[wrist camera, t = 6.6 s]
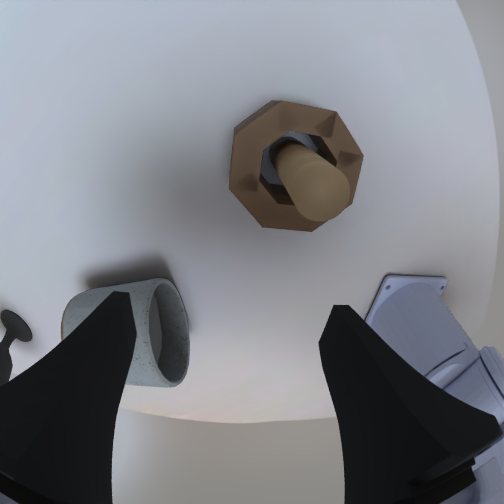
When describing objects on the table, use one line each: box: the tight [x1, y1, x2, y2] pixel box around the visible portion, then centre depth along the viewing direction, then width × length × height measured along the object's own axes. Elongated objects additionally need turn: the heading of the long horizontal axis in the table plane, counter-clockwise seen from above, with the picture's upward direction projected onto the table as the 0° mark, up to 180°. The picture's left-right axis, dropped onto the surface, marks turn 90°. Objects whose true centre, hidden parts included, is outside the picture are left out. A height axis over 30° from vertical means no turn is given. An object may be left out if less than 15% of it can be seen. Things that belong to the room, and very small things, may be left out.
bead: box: [229, 101, 363, 232], centre depth 15 cm, size 7×7×4 cm
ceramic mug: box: [61, 278, 190, 387], centre depth 19 cm, size 11×8×8 cm
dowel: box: [269, 137, 350, 221], centre depth 13 cm, size 2×2×8 cm
